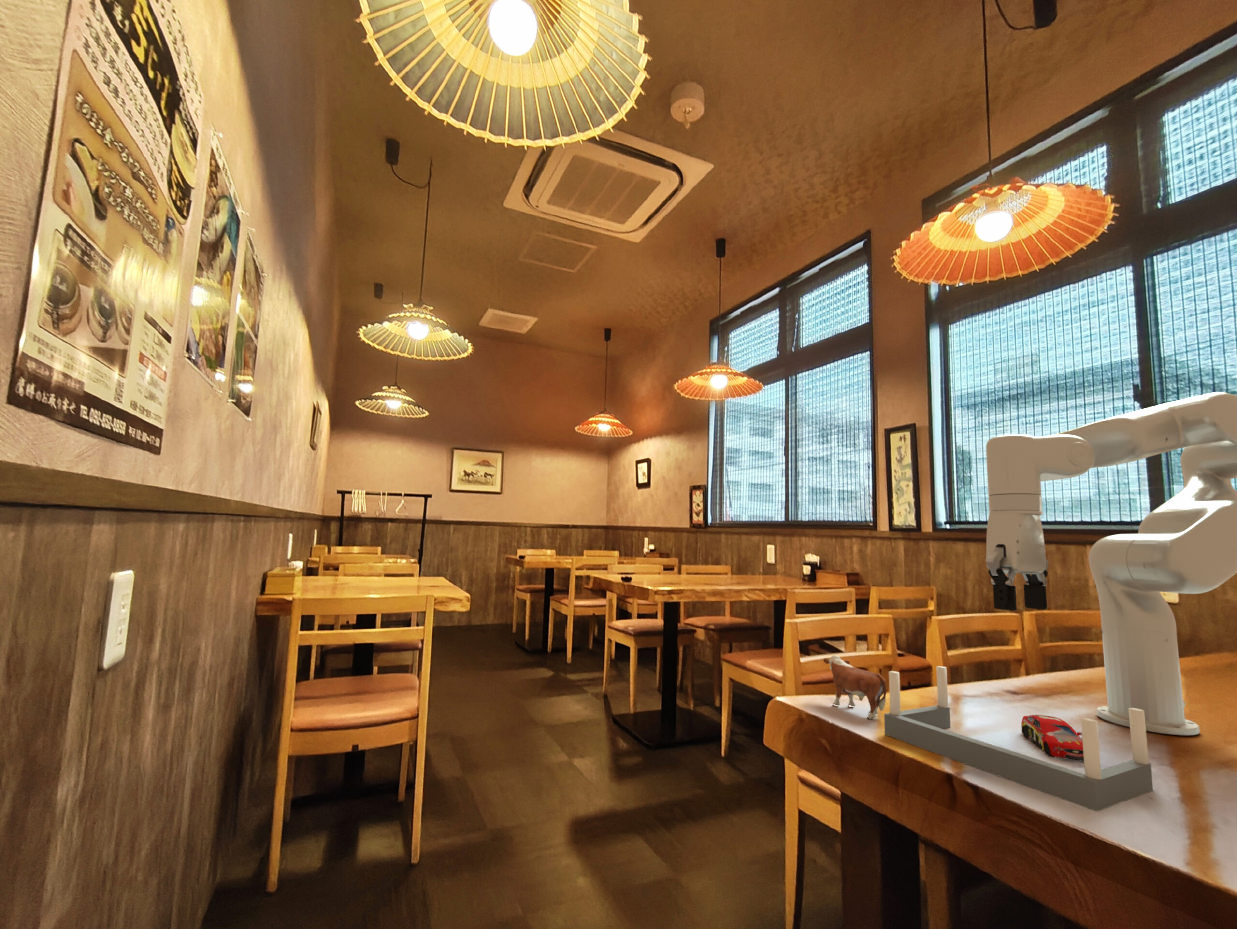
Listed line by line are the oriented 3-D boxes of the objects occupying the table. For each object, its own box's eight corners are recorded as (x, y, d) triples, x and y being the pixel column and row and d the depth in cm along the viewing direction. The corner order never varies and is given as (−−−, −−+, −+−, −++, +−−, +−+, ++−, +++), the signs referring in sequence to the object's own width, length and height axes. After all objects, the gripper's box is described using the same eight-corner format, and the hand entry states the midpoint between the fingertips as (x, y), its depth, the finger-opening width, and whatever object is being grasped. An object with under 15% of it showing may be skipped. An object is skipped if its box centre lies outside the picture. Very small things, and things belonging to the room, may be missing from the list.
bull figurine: (837, 698, 103) (836, 652, 104) (894, 721, 91) (892, 668, 92) (817, 699, 102) (816, 653, 103) (872, 723, 89) (871, 669, 90)
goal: (942, 724, 90) (939, 665, 91) (1153, 789, 67) (1146, 710, 68) (884, 734, 84) (883, 671, 85) (1096, 811, 61) (1090, 723, 62)
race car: (1101, 769, 74) (1098, 737, 74) (1051, 763, 76) (1049, 731, 76) (1059, 737, 86) (1057, 710, 87) (1017, 732, 88) (1016, 705, 89)
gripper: (1019, 510, 104) (1024, 605, 102) (963, 504, 96) (967, 607, 94) (1066, 509, 98) (1073, 611, 95) (1010, 502, 90) (1016, 613, 87)
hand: (1021, 609), depth 95 cm, fingers open, 8 cm apart
